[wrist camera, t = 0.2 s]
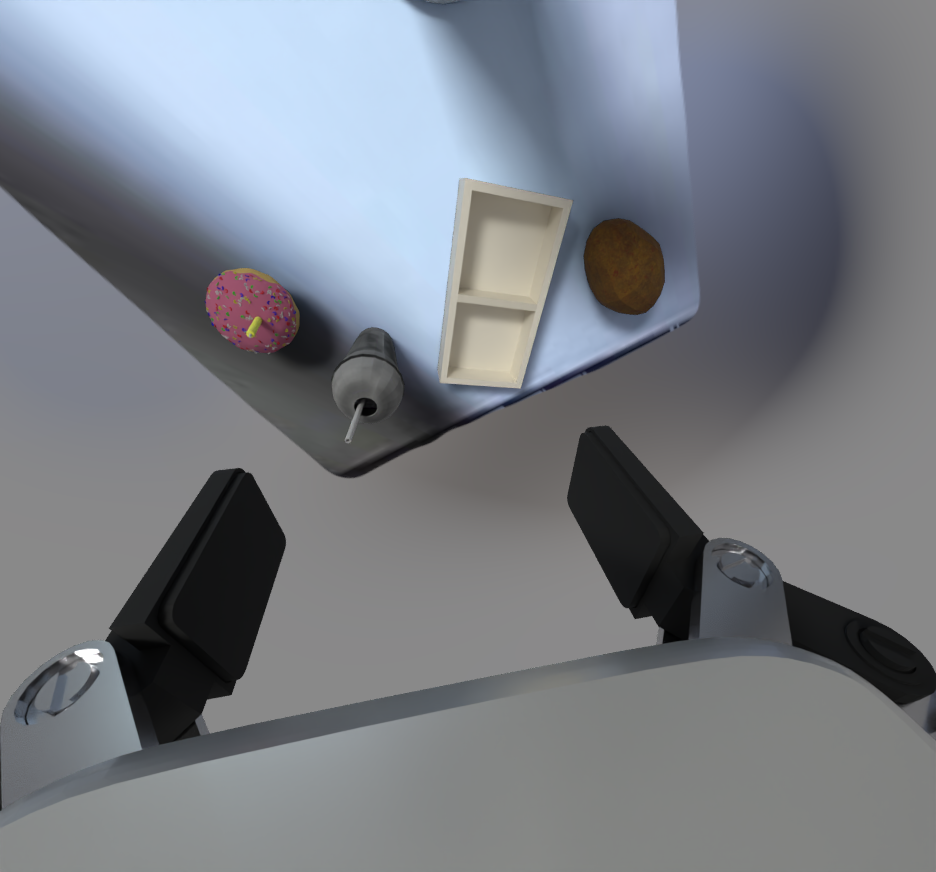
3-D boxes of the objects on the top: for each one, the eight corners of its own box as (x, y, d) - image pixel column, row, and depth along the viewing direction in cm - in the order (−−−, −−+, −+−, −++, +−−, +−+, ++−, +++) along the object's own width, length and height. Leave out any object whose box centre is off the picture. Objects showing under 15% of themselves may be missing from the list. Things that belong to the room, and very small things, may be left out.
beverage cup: (412, 359, 46) (418, 452, 30) (363, 377, 47) (344, 479, 31) (388, 307, 42) (381, 385, 26) (334, 328, 42) (294, 417, 26)
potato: (609, 195, 38) (649, 198, 32) (660, 271, 44) (702, 286, 38) (555, 257, 41) (582, 270, 35) (610, 320, 47) (641, 341, 41)
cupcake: (291, 256, 37) (253, 282, 27) (318, 332, 42) (294, 376, 33) (208, 265, 36) (141, 296, 27) (247, 342, 41) (201, 389, 32)
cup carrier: (459, 178, 35) (465, 178, 32) (558, 198, 38) (573, 200, 34) (437, 369, 47) (440, 382, 44) (513, 375, 50) (520, 388, 47)
